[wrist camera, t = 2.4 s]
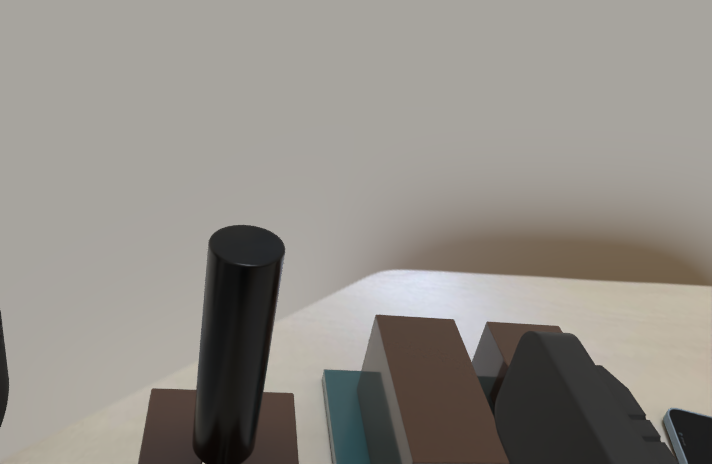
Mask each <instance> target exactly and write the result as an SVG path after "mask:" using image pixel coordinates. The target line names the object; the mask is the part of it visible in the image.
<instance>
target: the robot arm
mask: <svg viewBox="0 0 712 464" xmlns="http://www.w3.org/2000/svg"><path fill="white" fill-rule="evenodd" d="M8 393H9V377H8V370H7V360H6V352H5V344H4V336H3V327H2V319H1V312H0V427H1V424H2V421H3V418H4V415H5V411H6V407H7V401H8ZM645 416H646V414H645V413H644V411H643V410H642V408H641V407H640V405H639V404H638V403H637V401H636V400H635V398H634V397H633V395H632V394H631V392H630V391H629V389H628V388H627V387H626V386H624V385H623V384H622V383H621V382H620V381H619V380H618V379H616V378H615V377H614V376H613V375H612V374H611V373H610V372H608V371H607V370H606V369H605V368H604V367H603V366H600V365H595V364H594V362H593V361H592V359H591V358H590V356H589V355H588V353H587V351H586V350H585V348H584V347H583V345H582V344H581V342H580V341H579V339H578V338H577V337H576V336H575V335H573V334H570V333H556V332H538V331H527V332H526V333H524V334H523V335H522V337H521V338H520V340H519V343H518V345H517V348H516V350H515V353H514V355H513V358H512V360H511V363H510V365H509V368H508V370H507V373H506V375H505V378H504V380H503V383H502V385H501V388H500V390H499V393H498V395H497V398H496V403H495V425H496V430H497V434H498V436H499V439H500V441H501V444H502V446H503V449H504V451H505V454H506V456H507V458H508V461H509V463H510V464H679V463H678V461H677V460H676V459H675V457H674V456H673V454H672V453H671V451H670V450H669V448H668V447H667V445H666V444H665V442H661V441H660V437H661V436H660V435H659V433H658V432H657V431H656V429H655V428H654V426H653V425H652V423H651V422H650V420H646V418H645Z"/></svg>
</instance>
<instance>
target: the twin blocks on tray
mask: <svg viewBox="0 0 712 464" xmlns="http://www.w3.org/2000/svg"><path fill="white" fill-rule="evenodd" d="M527 331H538V332H556V333H563V332H562V331H561V329H560V327H559V326H549V325H532V324H516V323H500V322H486V325H485V328H484V330H483V333H482V336H481V339H480V341H479V344H478V347H477V349H476V352H475V355H474V358H473V360H472V362H471V360H470V358H469V355H468V353H467V350H466V348H465V345H464V343H463V341H462V338H461V336H460V333H459V331H458V328H457V326H456V324H455V321H454V320H453V319H438V318H422V317H405V316H389V315H376V316H375V319H374V323H373V327H372V331H371V335H370V339H369V343H368V347H367V351H366V355H365V359H364V363H363V366H362V370H361V371H348V370H324V372H323V377H322V382H323V390H324V398H325V405H326V413H327V421H328V429H329V437H330V445H331V453H332V460H333V464H510V463H509V461H508V458H507V456H506V454H505V451H504V449H503V446H502V444H501V441H500V439H499V436H498V434H497V430H496V425H495V403H496V398H497V395H498V393H499V390H500V388H501V385H502V383H503V380H504V378H505V375H506V373H507V370H508V368H509V365H510V363H511V360H512V358H513V355H514V353H515V350H516V348H517V345H518V343H519V340H520V338H521V337H522V335H523V334H524V333H526V332H527Z"/></svg>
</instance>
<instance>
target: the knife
mask: <svg viewBox="0 0 712 464" xmlns="http://www.w3.org/2000/svg"><path fill="white" fill-rule="evenodd" d="M284 255H285V246H284V244H283V242H282V240H281V239H280V238H279V237H278V236H277V235H275V234H274V233H272V232H270V231H268V230H266V229H263V228H260V227H256V226H250V225H234V226H228V227H225V228H222V229H220V230H218V231H216V232H215V233H214V234H213V235H212V236H211V238H210V240H209V244H208V255H207V268H206V279H205V292H204V304H203V316H202V328H201V340H200V352H199V364H198V376H197V389H196V401H195V413H194V425H193V437H192V447H193V450H194V452H195V454H196V456H197V457H198V458H199V459H200V460H201V461H202V462H204V463H205V464H241V463H243V462H244V461H246V460H247V459H248V458H249V457H250V455H251V454H252V452H253V450H254V447H255V442H256V436H257V429H258V423H259V416H260V410H261V403H262V397H263V390H264V384H265V378H266V371H267V365H268V358H269V352H270V345H271V339H272V332H273V326H274V319H275V313H276V307H277V300H278V294H279V287H280V281H281V274H282V268H283V261H284Z"/></svg>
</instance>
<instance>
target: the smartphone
mask: <svg viewBox="0 0 712 464" xmlns="http://www.w3.org/2000/svg"><path fill="white" fill-rule="evenodd" d="M664 423H665V426H666V429H667V432H668V434H669V437H670V440H671V442H672V445H673V448H674V450H675V453H676V456H677V458H678V461H679V464H712V417H710V416H706V415H702V414H698V413H694V412H690V411H686V410H682V409H678V408H670V409H669V410H668V411H667V413H666V414H665V416H664Z"/></svg>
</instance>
